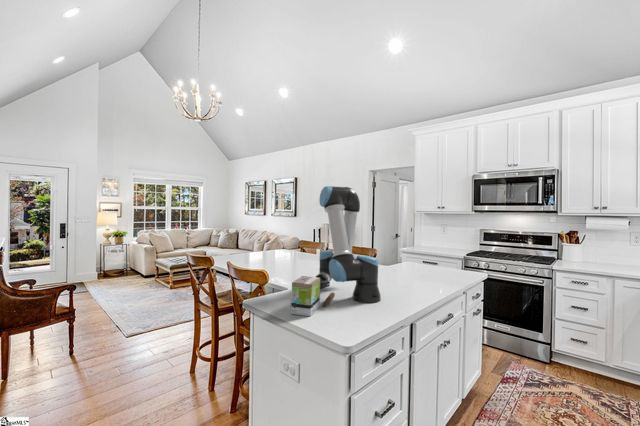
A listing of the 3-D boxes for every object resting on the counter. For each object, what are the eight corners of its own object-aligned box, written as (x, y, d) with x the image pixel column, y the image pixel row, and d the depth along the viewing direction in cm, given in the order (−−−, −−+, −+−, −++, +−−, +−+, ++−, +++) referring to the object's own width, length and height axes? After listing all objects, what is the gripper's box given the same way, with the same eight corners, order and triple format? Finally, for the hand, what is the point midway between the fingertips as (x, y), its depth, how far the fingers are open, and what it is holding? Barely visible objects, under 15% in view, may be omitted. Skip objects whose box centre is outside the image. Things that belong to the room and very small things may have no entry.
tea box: (311, 316, 137) (311, 284, 137) (290, 314, 140) (290, 282, 139) (320, 306, 152) (320, 276, 151) (300, 304, 154) (301, 275, 154)
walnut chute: (334, 296, 170) (334, 292, 170) (326, 307, 150) (326, 303, 150) (305, 293, 174) (305, 290, 174) (293, 304, 155) (293, 300, 155)
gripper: (332, 287, 174) (323, 299, 151) (310, 285, 177) (297, 296, 155) (332, 274, 174) (323, 284, 151) (310, 272, 177) (298, 282, 154)
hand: (310, 290), depth 153 cm, fingers closed
